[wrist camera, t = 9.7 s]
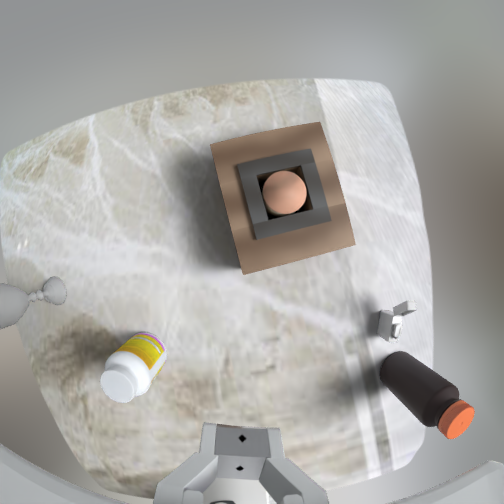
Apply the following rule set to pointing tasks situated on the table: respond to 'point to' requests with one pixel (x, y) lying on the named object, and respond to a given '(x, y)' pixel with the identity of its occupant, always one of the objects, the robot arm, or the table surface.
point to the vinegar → (426, 394)
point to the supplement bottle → (133, 367)
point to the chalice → (27, 299)
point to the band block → (252, 206)
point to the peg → (283, 194)
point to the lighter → (394, 321)
